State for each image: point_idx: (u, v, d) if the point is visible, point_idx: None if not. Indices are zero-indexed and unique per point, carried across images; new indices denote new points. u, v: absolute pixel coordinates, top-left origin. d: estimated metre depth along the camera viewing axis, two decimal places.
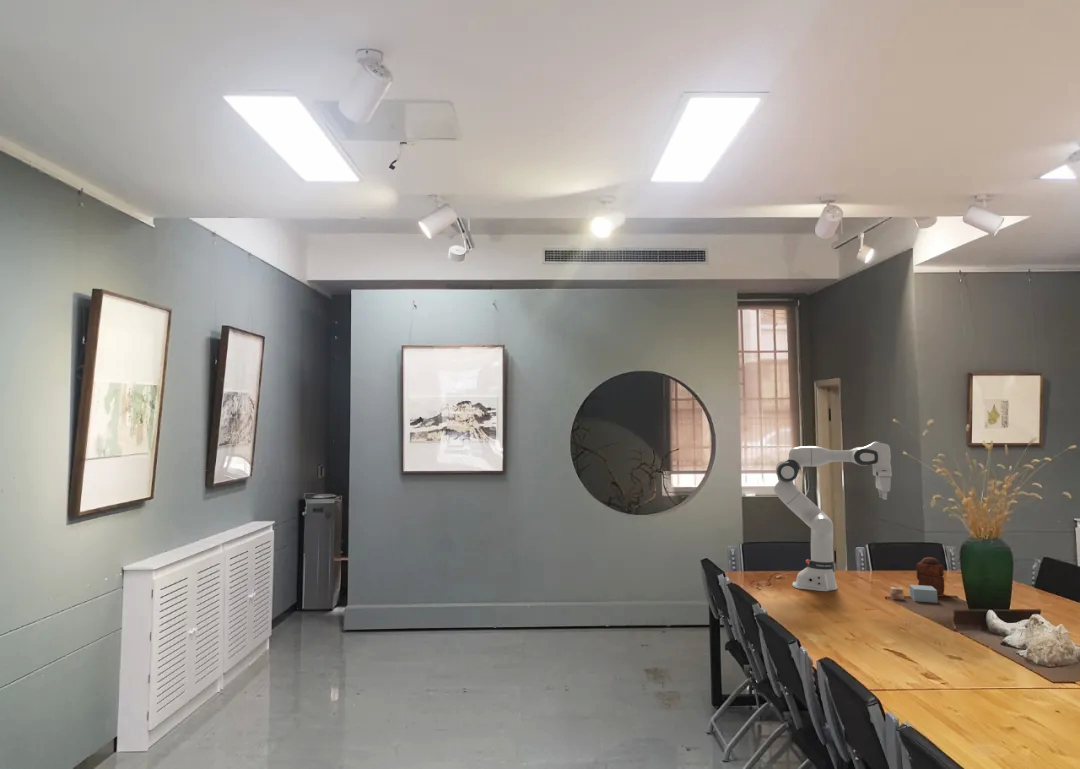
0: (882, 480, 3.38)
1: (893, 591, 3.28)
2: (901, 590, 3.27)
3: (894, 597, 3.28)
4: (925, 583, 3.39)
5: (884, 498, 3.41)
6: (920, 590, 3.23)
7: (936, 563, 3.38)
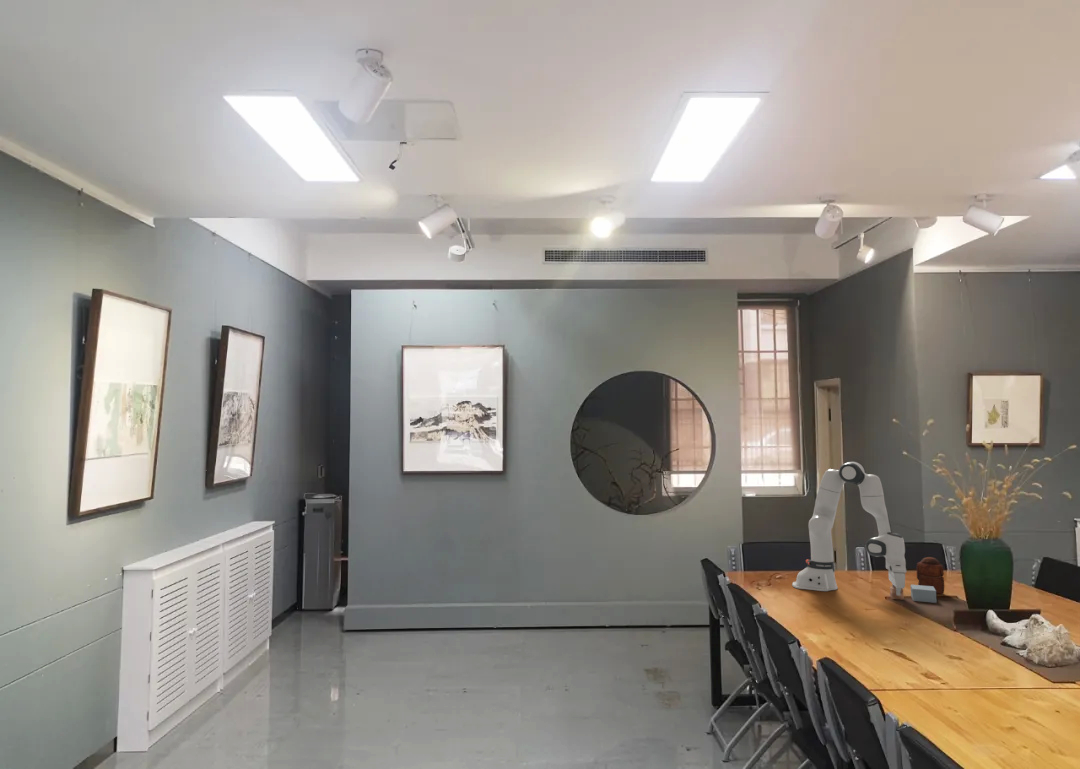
0: (896, 576, 3.22)
1: (893, 591, 3.28)
2: (901, 590, 3.27)
3: (894, 597, 3.28)
4: (925, 583, 3.39)
5: (897, 594, 3.26)
6: (919, 590, 3.24)
7: (936, 563, 3.38)
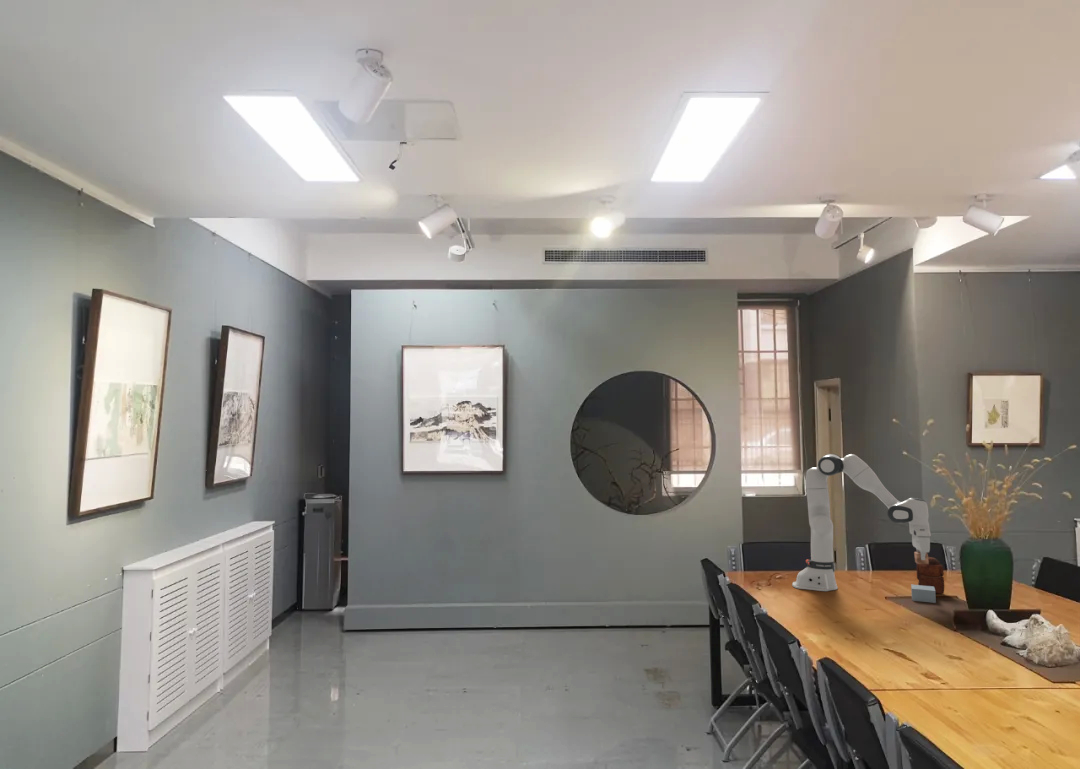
0: (921, 540, 3.20)
1: (918, 556, 3.26)
2: (926, 554, 3.25)
3: (919, 562, 3.26)
4: (925, 583, 3.39)
5: (922, 558, 3.24)
6: (918, 590, 3.24)
7: (936, 563, 3.38)
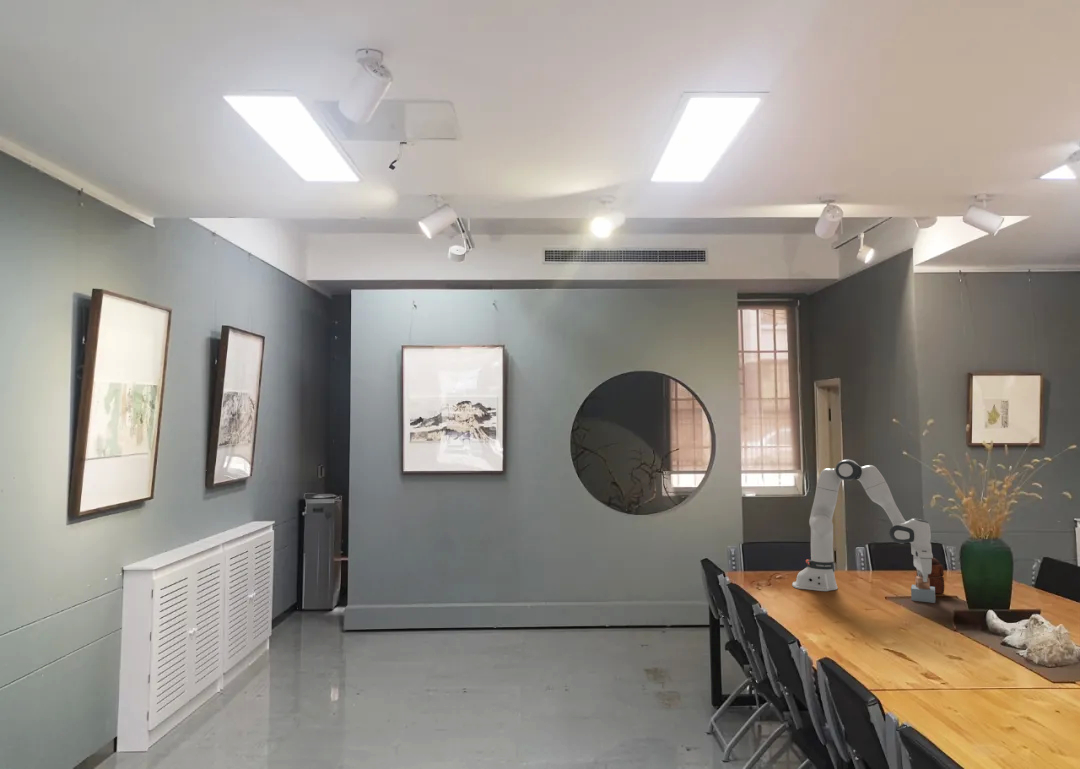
0: (922, 562, 3.20)
1: (919, 580, 3.26)
2: (927, 579, 3.25)
3: (920, 586, 3.25)
4: None
5: (924, 580, 3.22)
6: (917, 590, 3.24)
7: (936, 563, 3.38)
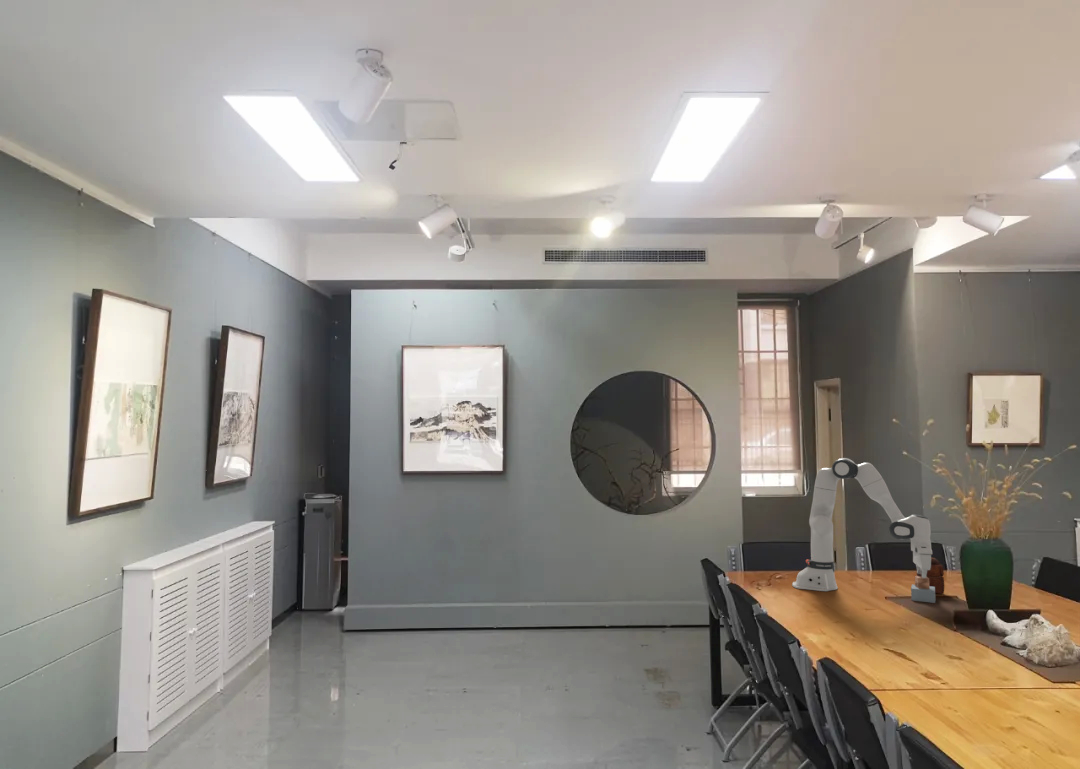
0: (922, 558, 3.20)
1: (919, 580, 3.26)
2: (927, 579, 3.25)
3: (920, 586, 3.26)
4: None
5: (923, 576, 3.23)
6: (917, 590, 3.24)
7: (936, 563, 3.38)
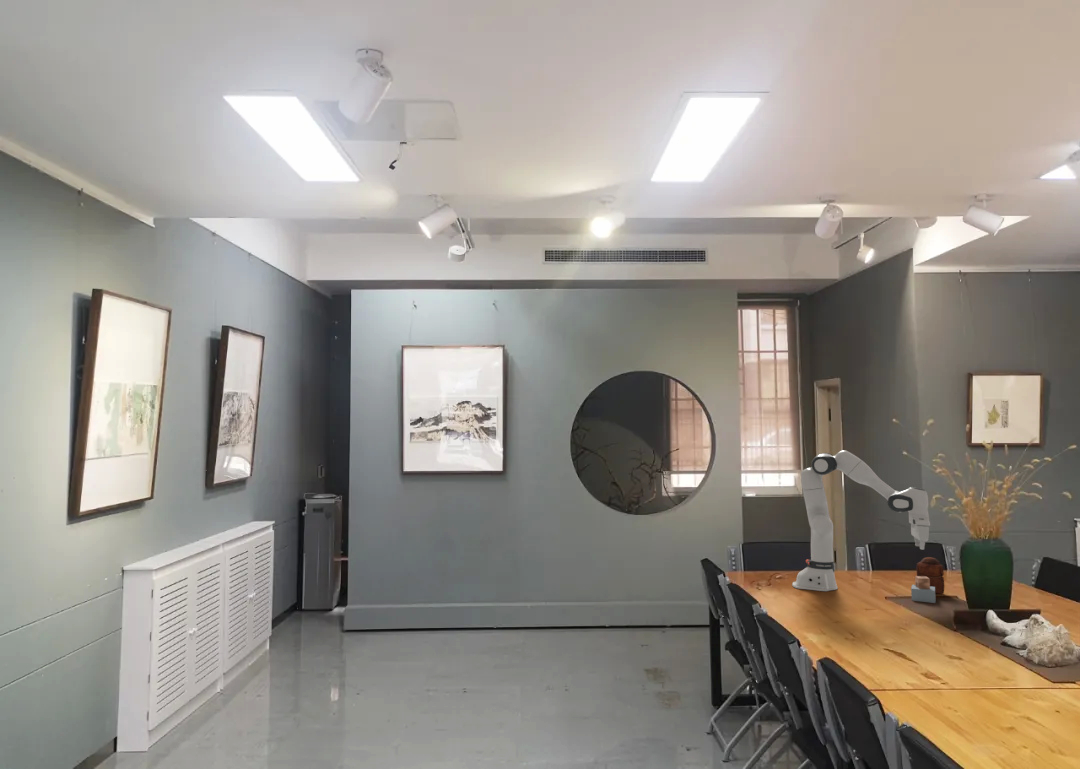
0: (920, 529, 3.21)
1: (919, 580, 3.26)
2: (927, 579, 3.25)
3: (920, 586, 3.25)
4: None
5: (921, 548, 3.24)
6: (917, 590, 3.24)
7: (936, 563, 3.38)
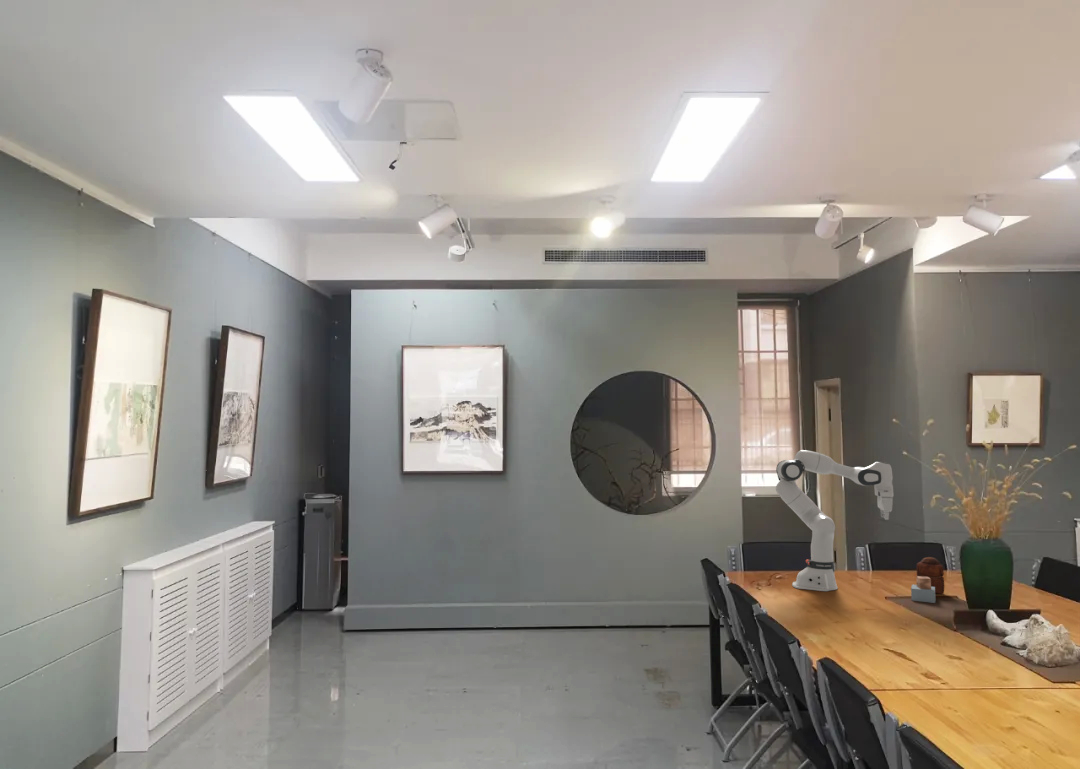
0: (884, 500, 3.42)
1: (920, 580, 3.25)
2: (928, 579, 3.24)
3: (921, 586, 3.25)
4: None
5: (886, 518, 3.44)
6: (917, 590, 3.24)
7: (936, 563, 3.38)
